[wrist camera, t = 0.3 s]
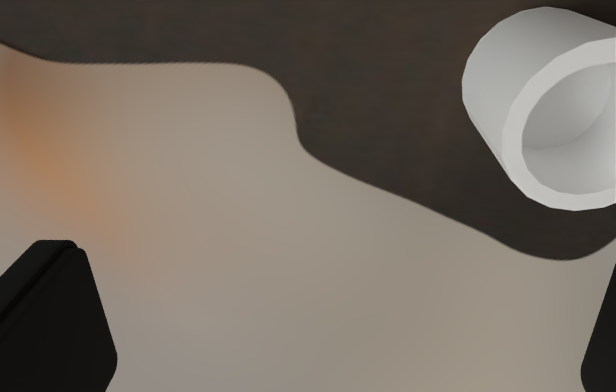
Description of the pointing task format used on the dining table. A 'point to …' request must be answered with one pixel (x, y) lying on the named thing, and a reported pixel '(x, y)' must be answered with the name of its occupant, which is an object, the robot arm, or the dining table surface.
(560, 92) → the mug
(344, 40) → the dining table surface
